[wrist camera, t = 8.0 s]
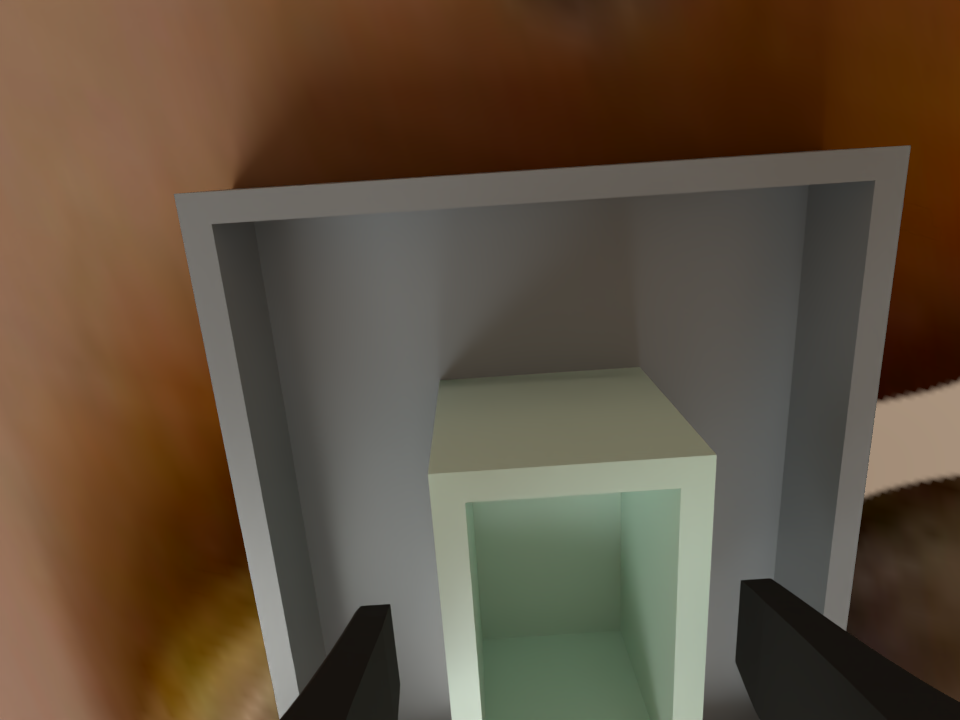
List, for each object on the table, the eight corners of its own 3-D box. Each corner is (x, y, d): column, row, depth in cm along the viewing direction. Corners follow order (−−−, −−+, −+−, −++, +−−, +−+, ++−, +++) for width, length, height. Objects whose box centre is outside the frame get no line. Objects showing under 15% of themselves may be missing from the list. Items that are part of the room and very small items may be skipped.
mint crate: (636, 631, 18) (698, 800, 13) (462, 643, 18) (460, 816, 13) (639, 366, 16) (717, 455, 11) (439, 380, 16) (427, 474, 11)
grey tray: (768, 741, 20) (818, 836, 17) (332, 769, 20) (310, 871, 17) (824, 149, 15) (910, 145, 12) (231, 189, 15) (173, 193, 12)
